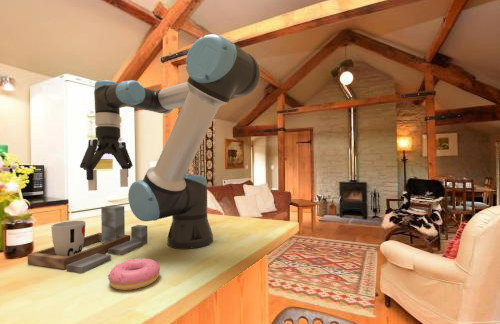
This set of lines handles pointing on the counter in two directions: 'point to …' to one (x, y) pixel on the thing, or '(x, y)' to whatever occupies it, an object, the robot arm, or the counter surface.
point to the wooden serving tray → (88, 241)
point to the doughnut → (134, 274)
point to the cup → (68, 237)
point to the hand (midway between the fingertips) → (109, 188)
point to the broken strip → (112, 251)
